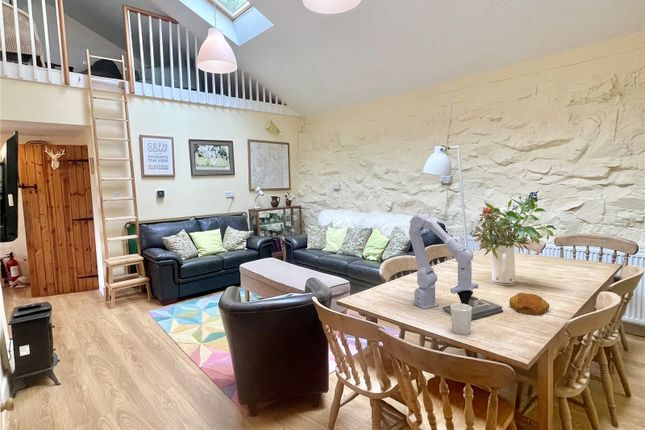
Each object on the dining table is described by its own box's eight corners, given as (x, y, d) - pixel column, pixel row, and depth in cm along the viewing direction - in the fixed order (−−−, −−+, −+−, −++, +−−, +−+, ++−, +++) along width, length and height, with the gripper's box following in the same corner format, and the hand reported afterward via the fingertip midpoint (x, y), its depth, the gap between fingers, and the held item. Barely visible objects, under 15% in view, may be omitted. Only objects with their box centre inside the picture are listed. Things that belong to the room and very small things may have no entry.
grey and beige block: (474, 308, 158) (474, 299, 157) (467, 306, 161) (467, 296, 161) (478, 307, 159) (478, 298, 158) (471, 305, 162) (471, 295, 162)
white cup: (466, 326, 144) (466, 302, 143) (475, 334, 136) (475, 310, 135) (447, 327, 144) (447, 303, 143) (455, 336, 136) (455, 311, 135)
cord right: (469, 321, 149) (469, 319, 148) (467, 320, 149) (467, 318, 149) (503, 312, 157) (503, 309, 157) (501, 311, 158) (501, 309, 158)
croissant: (513, 306, 169) (511, 289, 169) (551, 308, 159) (549, 290, 159) (506, 315, 158) (503, 297, 158) (546, 318, 148) (544, 299, 148)
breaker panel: (462, 320, 150) (462, 313, 150) (444, 311, 160) (443, 305, 160) (502, 309, 160) (502, 303, 160) (482, 302, 170) (482, 296, 170)
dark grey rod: (444, 309, 162) (444, 307, 162) (442, 309, 163) (442, 307, 163) (476, 301, 170) (476, 299, 170) (475, 301, 171) (475, 299, 171)
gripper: (459, 281, 150) (459, 312, 151) (483, 276, 155) (483, 306, 157) (447, 277, 156) (447, 307, 158) (471, 272, 162) (471, 301, 163)
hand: (464, 306), depth 158 cm, fingers closed
